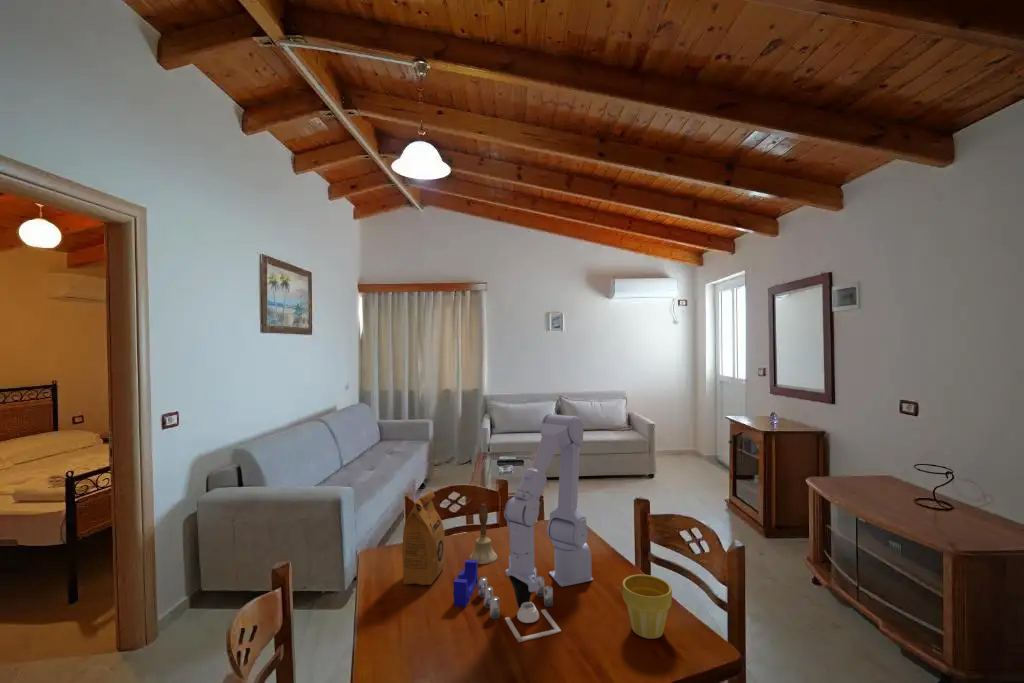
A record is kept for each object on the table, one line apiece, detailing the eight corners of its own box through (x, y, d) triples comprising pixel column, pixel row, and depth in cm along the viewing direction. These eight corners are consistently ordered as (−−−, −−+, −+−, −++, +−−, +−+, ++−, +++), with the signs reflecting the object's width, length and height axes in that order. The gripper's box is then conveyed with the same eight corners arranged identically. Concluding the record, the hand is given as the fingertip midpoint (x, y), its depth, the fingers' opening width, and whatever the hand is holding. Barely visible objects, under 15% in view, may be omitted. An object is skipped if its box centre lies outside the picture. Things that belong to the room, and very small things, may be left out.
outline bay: (544, 610, 111) (544, 609, 111) (561, 631, 103) (561, 630, 103) (504, 619, 108) (504, 617, 108) (518, 642, 99) (518, 640, 99)
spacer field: (535, 582, 125) (535, 567, 125) (554, 605, 113) (554, 589, 113) (477, 593, 119) (477, 577, 119) (491, 619, 108) (491, 602, 108)
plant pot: (652, 612, 110) (651, 570, 110) (683, 637, 100) (682, 591, 100) (614, 622, 106) (613, 578, 106) (642, 649, 96) (641, 601, 97)
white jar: (538, 611, 111) (516, 612, 111) (537, 599, 111) (516, 599, 111) (539, 624, 106) (517, 625, 106) (539, 611, 106) (517, 611, 106)
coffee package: (451, 568, 133) (449, 490, 134) (431, 590, 121) (430, 505, 122) (419, 564, 136) (418, 488, 136) (397, 585, 124) (396, 502, 124)
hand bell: (481, 549, 145) (480, 498, 145) (503, 556, 140) (502, 502, 141) (463, 560, 139) (462, 505, 139) (485, 567, 134) (484, 511, 134)
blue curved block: (461, 581, 126) (460, 559, 126) (477, 582, 125) (477, 560, 125) (448, 606, 114) (447, 581, 114) (466, 607, 113) (465, 582, 114)
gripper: (496, 540, 116) (497, 595, 116) (516, 565, 103) (517, 628, 103) (523, 536, 119) (524, 590, 119) (546, 560, 105) (547, 621, 105)
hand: (523, 607), depth 111 cm, fingers closed
